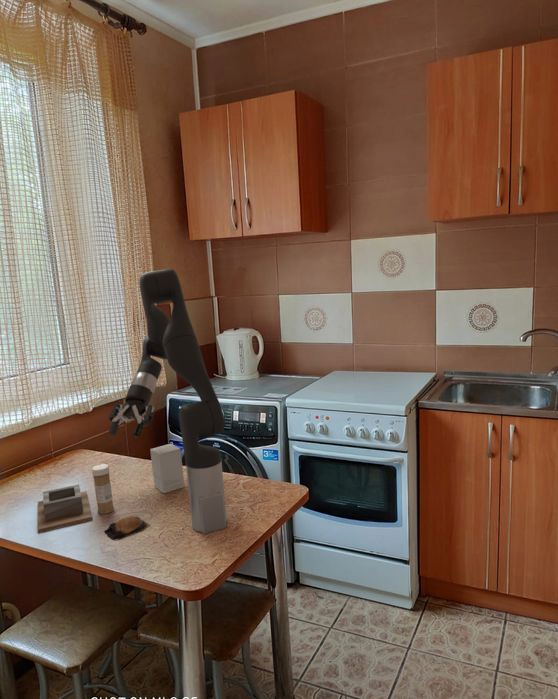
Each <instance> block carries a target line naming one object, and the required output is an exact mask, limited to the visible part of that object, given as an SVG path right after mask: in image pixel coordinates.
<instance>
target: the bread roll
mask: <svg viewBox="0 0 558 699" xmlns="http://www.w3.org/2000/svg"><path fill="white" fill-rule="evenodd" d="M149 527H151V524H150V523H148V522H146V521H145V520H143V519H141V518H140V516H137V515H129V516H126V517H123V518H121V519H119V520H118V521H117V522H112V523H110V524H109V526H108V528H107V529H105V530H104V531H103V532H104V534H105V535H106V536H108V538H109V539H111V540H118V541H119V540H120V539H121V540H122V539H125V538H127V537H130V536H132V535H134V534H135V533H139V532H142V531H143V530H145V529H147V528H149Z"/></svg>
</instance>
